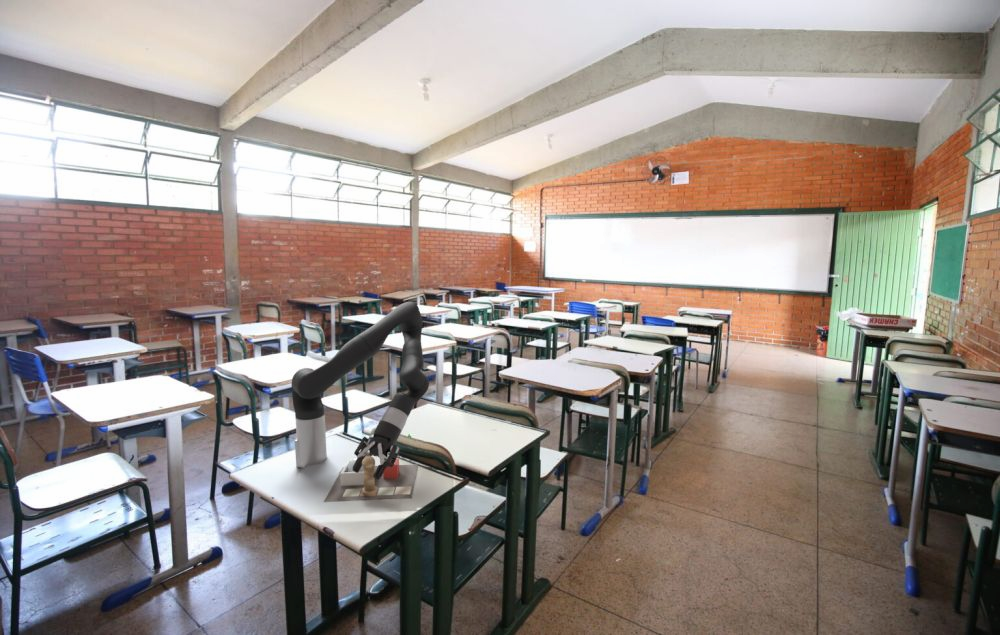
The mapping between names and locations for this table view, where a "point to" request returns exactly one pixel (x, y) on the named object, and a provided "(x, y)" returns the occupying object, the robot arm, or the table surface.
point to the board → (385, 487)
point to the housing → (351, 477)
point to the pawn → (369, 476)
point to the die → (392, 470)
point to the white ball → (350, 466)
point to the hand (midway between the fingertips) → (365, 474)
